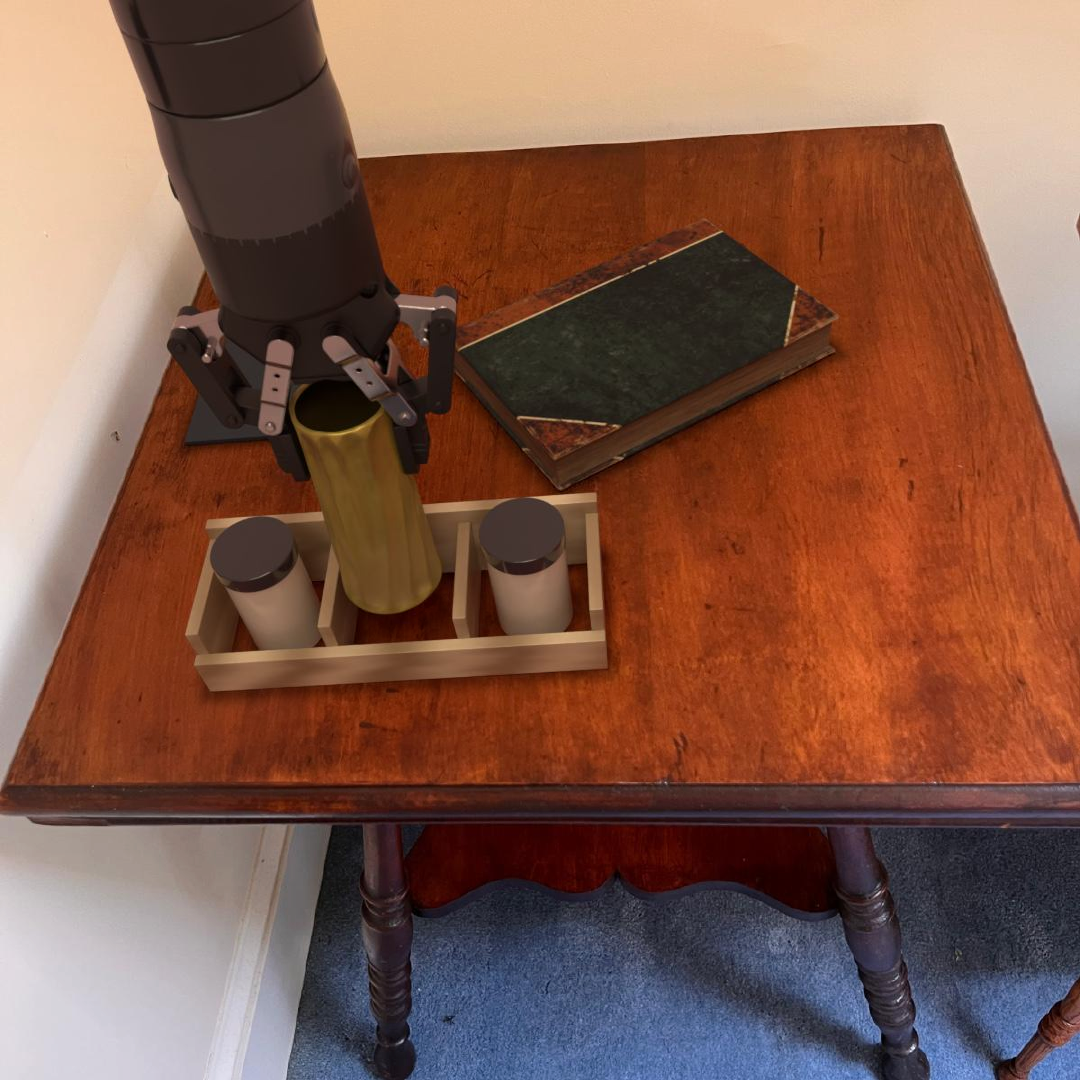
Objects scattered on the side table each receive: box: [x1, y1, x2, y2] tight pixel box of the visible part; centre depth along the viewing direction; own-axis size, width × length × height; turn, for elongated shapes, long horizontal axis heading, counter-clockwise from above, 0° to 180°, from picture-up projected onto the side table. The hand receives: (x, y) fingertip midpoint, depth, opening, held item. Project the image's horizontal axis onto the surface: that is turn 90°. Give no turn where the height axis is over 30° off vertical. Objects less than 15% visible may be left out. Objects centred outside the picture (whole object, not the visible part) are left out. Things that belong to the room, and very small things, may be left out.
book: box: [453, 217, 840, 492], centre depth 80 cm, size 17×4×25 cm
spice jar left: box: [210, 515, 323, 651], centre depth 64 cm, size 5×5×8 cm
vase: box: [289, 379, 443, 615], centre depth 57 cm, size 6×6×14 cm
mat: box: [184, 338, 302, 446], centre depth 83 cm, size 14×14×1 cm
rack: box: [184, 491, 609, 692], centre depth 64 cm, size 25×9×6 cm, turn 90°
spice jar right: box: [479, 496, 574, 636], centre depth 63 cm, size 5×5×8 cm
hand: (359, 466), depth 56 cm, fingers closed on vase, 5 cm apart
